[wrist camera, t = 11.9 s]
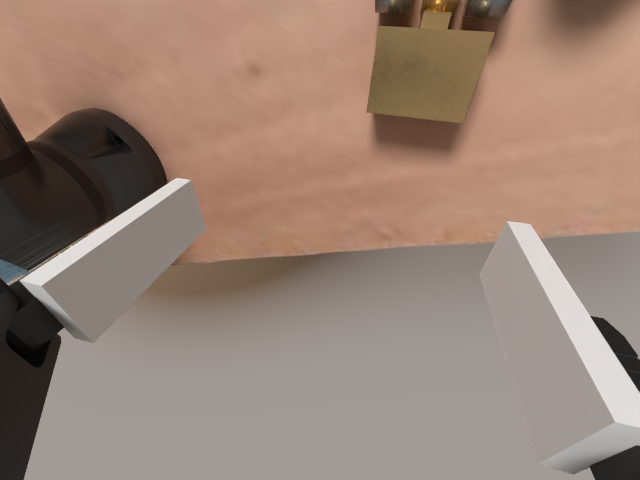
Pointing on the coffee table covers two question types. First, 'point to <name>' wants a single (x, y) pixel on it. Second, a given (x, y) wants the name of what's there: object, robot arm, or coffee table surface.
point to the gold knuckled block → (427, 67)
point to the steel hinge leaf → (479, 3)
